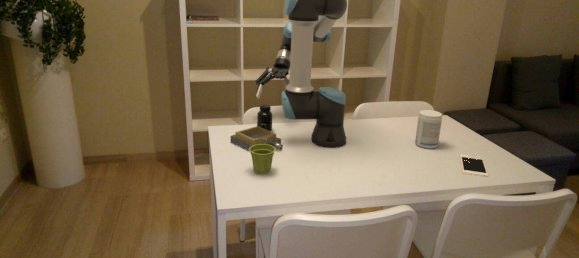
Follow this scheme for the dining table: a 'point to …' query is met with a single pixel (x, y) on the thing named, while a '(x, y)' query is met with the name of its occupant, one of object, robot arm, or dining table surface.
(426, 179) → the dining table surface
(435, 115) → the supplement tub
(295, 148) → the dining table surface
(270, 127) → the supplement bottle
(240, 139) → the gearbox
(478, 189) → the dining table surface
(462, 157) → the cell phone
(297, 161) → the dining table surface
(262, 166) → the plant pot
